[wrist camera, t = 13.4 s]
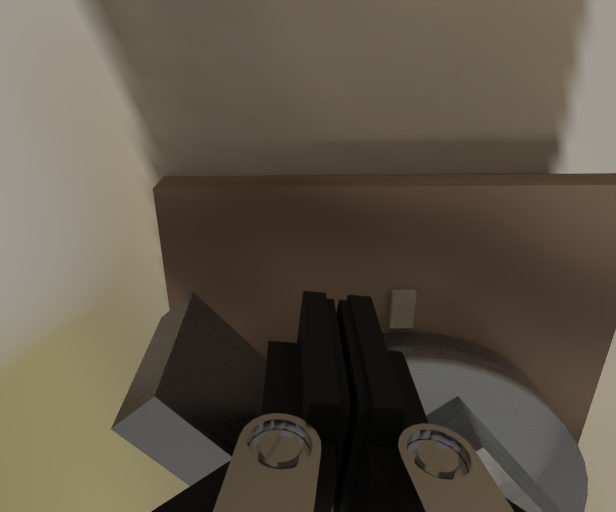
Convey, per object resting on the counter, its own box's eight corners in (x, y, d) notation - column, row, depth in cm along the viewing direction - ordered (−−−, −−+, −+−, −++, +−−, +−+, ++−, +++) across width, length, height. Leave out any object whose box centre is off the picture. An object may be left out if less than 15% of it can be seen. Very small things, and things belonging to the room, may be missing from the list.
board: (515, 570, 22) (529, 603, 21) (215, 583, 21) (210, 618, 20) (634, 173, 14) (669, 186, 13) (163, 176, 14) (150, 191, 12)
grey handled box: (610, 480, 17) (724, 633, 13) (355, 612, 20) (375, 777, 16) (350, 151, 12) (389, 218, 7) (50, 396, 15) (-54, 554, 10)
